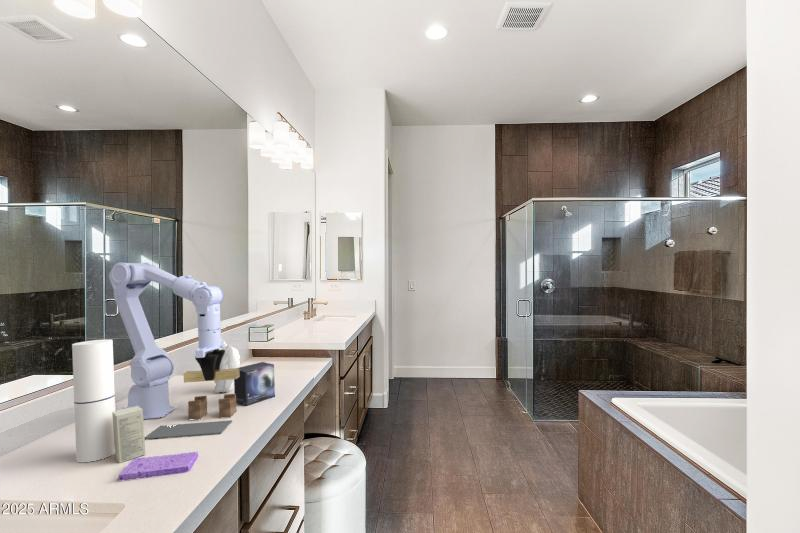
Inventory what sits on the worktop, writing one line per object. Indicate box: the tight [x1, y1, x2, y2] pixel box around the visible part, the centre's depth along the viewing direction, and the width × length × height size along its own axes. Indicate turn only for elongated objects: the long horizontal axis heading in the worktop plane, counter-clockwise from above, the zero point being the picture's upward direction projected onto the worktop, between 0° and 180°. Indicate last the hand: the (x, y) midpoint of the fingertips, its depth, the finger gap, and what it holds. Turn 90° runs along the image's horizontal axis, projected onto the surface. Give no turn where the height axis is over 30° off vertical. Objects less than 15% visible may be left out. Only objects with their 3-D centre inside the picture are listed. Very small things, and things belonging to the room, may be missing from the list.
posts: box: [187, 393, 238, 420], centre depth 111 cm, size 11×5×5 cm, turn 94°
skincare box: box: [112, 406, 147, 464], centre depth 88 cm, size 5×4×10 cm
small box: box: [233, 361, 276, 407], centre depth 124 cm, size 11×6×10 cm, turn 145°
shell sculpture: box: [214, 336, 241, 394], centre depth 135 cm, size 8×8×18 cm
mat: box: [144, 420, 233, 441], centre depth 101 cm, size 18×8×1 cm, turn 94°
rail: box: [183, 368, 240, 383], centre depth 111 cm, size 14×3×2 cm, turn 95°
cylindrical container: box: [71, 338, 116, 463], centre depth 89 cm, size 7×7×25 cm
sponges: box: [118, 451, 199, 481], centre depth 81 cm, size 7×13×2 cm, turn 102°
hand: (211, 378), depth 111 cm, fingers closed on rail, 3 cm apart
